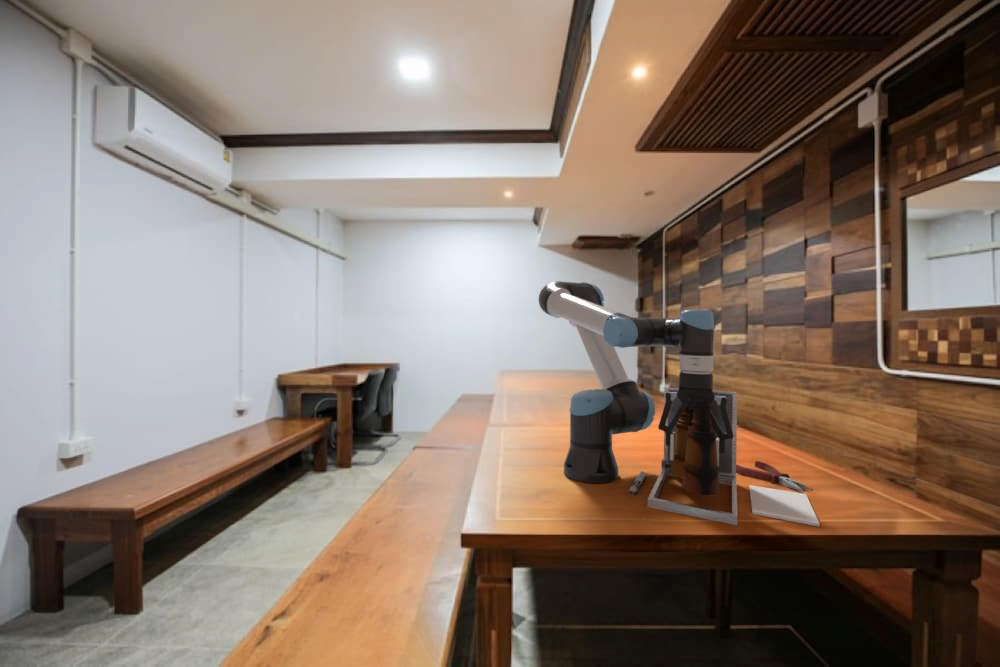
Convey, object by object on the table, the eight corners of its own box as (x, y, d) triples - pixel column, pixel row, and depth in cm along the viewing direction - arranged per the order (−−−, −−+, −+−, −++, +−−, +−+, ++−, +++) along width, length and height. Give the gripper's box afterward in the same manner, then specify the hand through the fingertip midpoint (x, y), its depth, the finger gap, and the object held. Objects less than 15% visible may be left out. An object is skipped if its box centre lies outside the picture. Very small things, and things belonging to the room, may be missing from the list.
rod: (629, 495, 103) (628, 488, 103) (640, 477, 116) (639, 471, 116) (636, 495, 103) (635, 488, 103) (646, 478, 115) (645, 471, 115)
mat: (752, 513, 92) (752, 511, 92) (749, 487, 108) (749, 485, 108) (819, 526, 86) (819, 523, 86) (805, 496, 102) (806, 494, 102)
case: (646, 506, 96) (647, 401, 95) (663, 472, 119) (663, 387, 119) (737, 525, 87) (738, 409, 87) (736, 483, 110) (737, 392, 110)
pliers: (790, 497, 103) (790, 487, 103) (727, 470, 122) (727, 461, 122) (825, 493, 106) (826, 483, 105) (758, 468, 125) (758, 459, 125)
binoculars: (666, 467, 112) (668, 393, 112) (698, 468, 111) (700, 394, 111) (687, 494, 94) (689, 407, 94) (726, 497, 93) (728, 408, 93)
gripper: (646, 370, 104) (645, 458, 105) (748, 376, 94) (746, 475, 94) (651, 368, 111) (650, 451, 111) (747, 373, 100) (745, 465, 101)
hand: (694, 462), depth 103 cm, fingers closed on binoculars, 9 cm apart
